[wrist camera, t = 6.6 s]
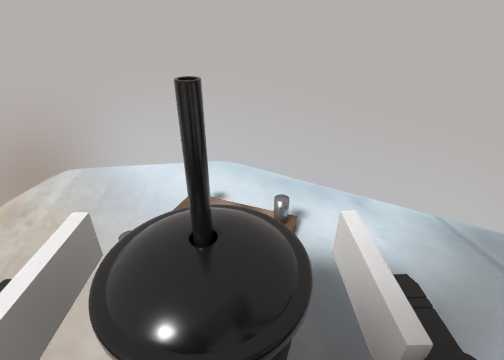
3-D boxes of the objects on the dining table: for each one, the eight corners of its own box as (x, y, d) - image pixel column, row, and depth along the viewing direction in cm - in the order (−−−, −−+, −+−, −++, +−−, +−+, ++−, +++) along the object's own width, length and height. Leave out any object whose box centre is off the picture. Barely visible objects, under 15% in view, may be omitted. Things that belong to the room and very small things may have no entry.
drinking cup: (180, 358, 21) (118, 58, 11) (286, 369, 20) (322, 62, 10) (131, 519, 14) (-141, 118, 4) (288, 542, 13) (395, 137, 4)
